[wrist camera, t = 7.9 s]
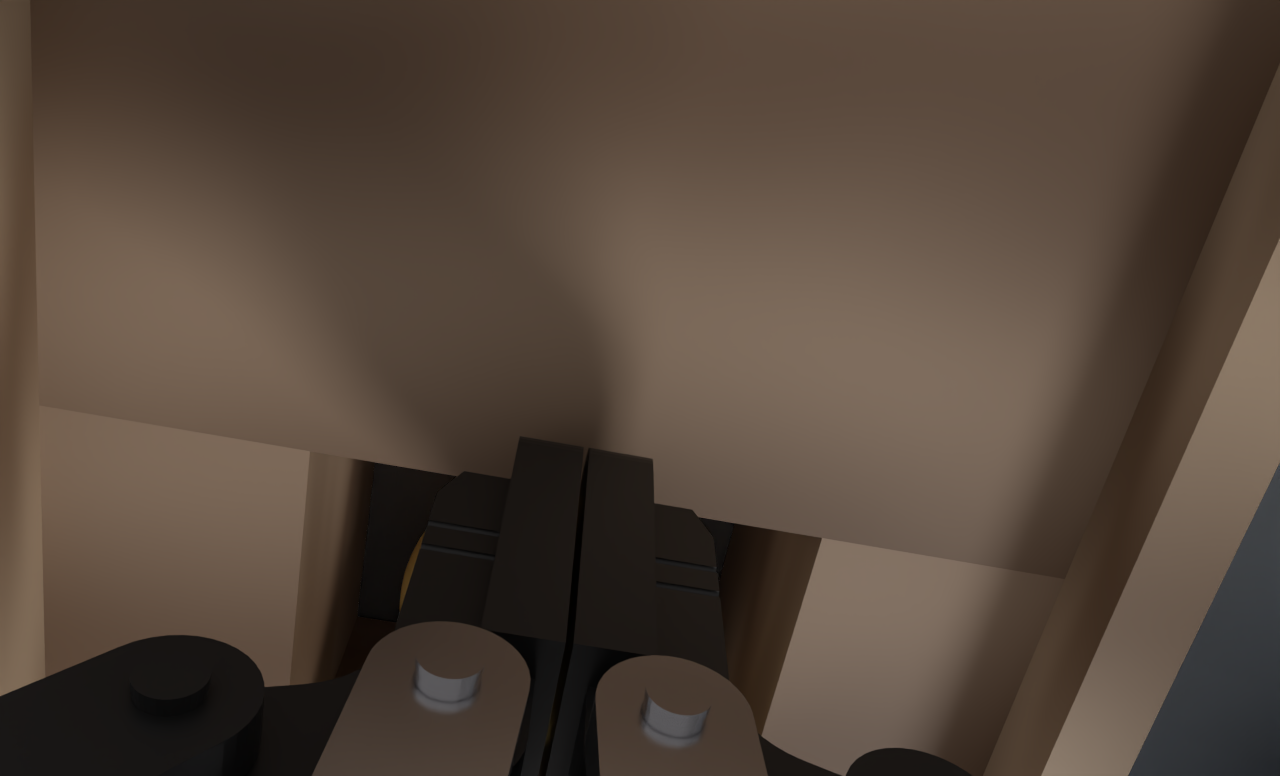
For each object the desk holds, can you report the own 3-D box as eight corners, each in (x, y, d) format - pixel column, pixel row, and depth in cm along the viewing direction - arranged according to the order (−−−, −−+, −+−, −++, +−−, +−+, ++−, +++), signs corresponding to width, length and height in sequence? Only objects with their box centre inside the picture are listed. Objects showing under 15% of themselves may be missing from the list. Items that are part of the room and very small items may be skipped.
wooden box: (137, -686, 13) (-251, -1102, 7) (1318, -394, 14) (1774, -558, 8) (121, 715, 21) (-67, 1029, 15) (866, 825, 22) (943, 1156, 17)
